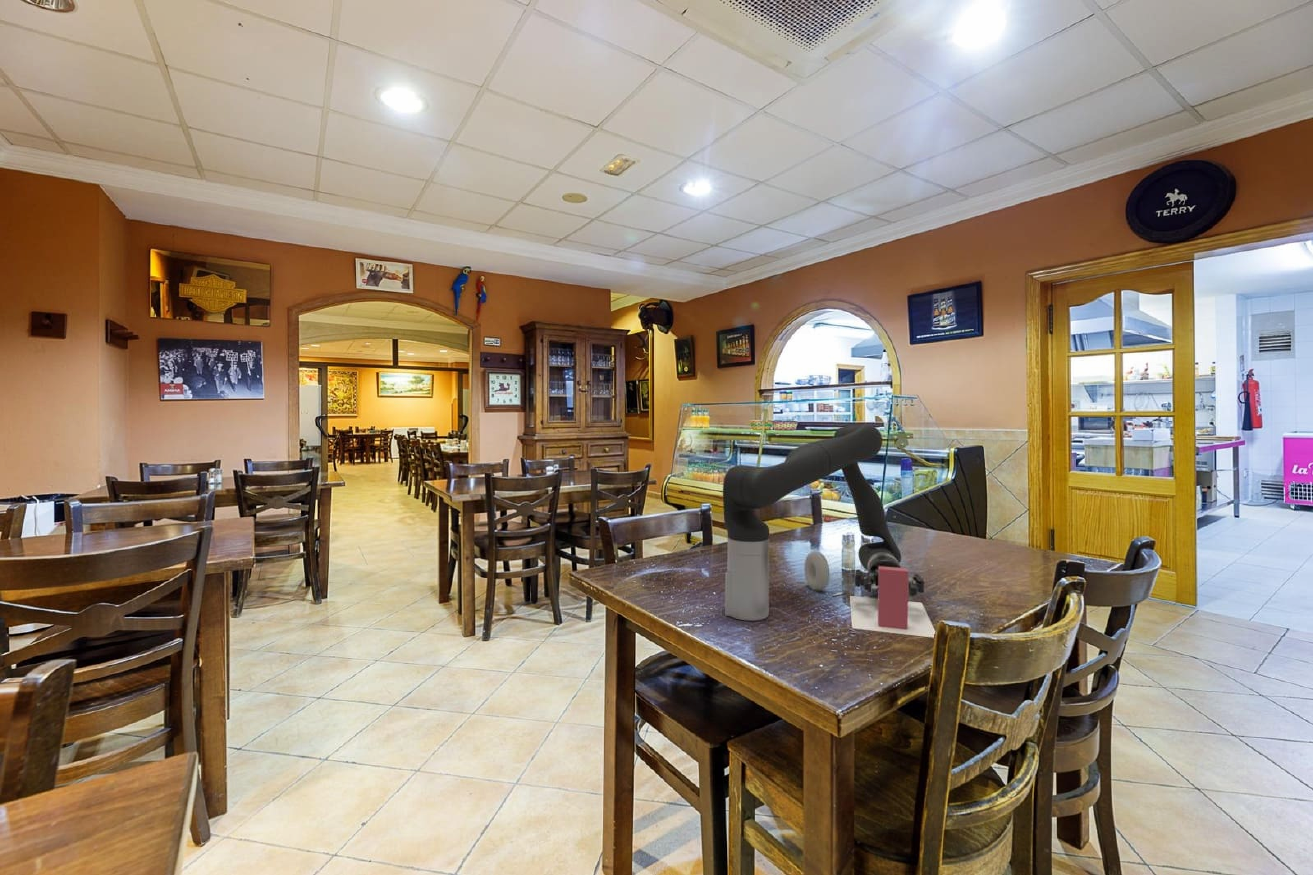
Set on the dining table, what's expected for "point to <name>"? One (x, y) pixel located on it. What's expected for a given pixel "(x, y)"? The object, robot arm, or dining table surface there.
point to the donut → (816, 571)
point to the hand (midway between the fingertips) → (891, 590)
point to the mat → (867, 619)
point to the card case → (893, 597)
